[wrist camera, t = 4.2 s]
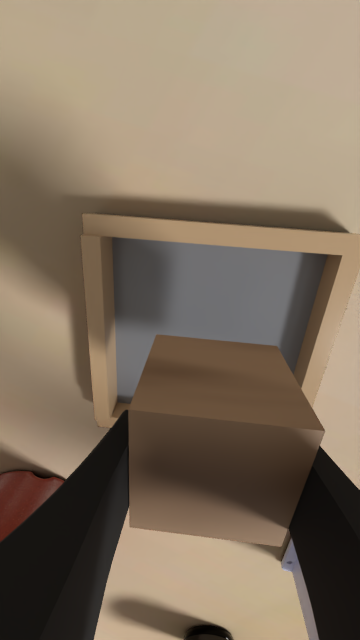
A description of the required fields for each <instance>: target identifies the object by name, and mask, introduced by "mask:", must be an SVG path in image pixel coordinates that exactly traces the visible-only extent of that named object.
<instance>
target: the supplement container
mask: <svg viewBox="0 0 360 640" xmlns="http://www.w3.org/2000/svg"><path fill="white" fill-rule="evenodd" d="M184 640H234V639H233V637H232V636H231V634H230V633H228V632H227V631H225V630H224V629H221V628H218V627H215V626H206V625H203V626H196V627H193V628H191V629H189V630H188V631H187V633H186V634H185V636H184Z"/></svg>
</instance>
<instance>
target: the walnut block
mask: <svg viewBox="0 0 360 640" xmlns="http://www.w3.org/2000/svg"><path fill="white" fill-rule="evenodd" d="M128 421H129V515H130V527H132V528H140V529H147V530H155V531H163V532H171V533H178V534H186V535H194V536H201V537H209V538H217V539H225V540H232V541H240V542H248V543H255V544H263V545H271V546H278V547H281V546H282V543H283V541H284V538H285V535H286V533H287V530H288V528H289V525H290V522H291V520H292V517H293V514H294V512H295V509H296V507H297V504H298V501H299V499H300V496H301V493H302V491H303V488H304V486H305V483H306V480H307V478H308V475H309V472H310V470H311V467H312V464H313V462H314V459H315V457H316V454H317V451H318V449H319V446H320V443H321V441H322V438H323V436H324V433H325V430H324V428H323V426H322V425H321V423H320V421H319V419H318V418H317V416H316V414H315V412H314V411H313V409H312V407H311V405H310V403H309V402H308V400H307V398H306V396H305V395H304V393H303V391H302V389H301V388H300V386H299V384H298V382H297V380H296V379H295V377H294V375H293V373H292V372H291V370H290V368H289V366H288V365H287V363H286V361H285V359H284V357H283V356H282V354H281V352H280V350H279V349H278V347H277V346H273V345H262V344H252V343H242V342H231V341H221V340H210V339H200V338H190V337H179V336H169V335H159V334H156V336H155V339H154V342H153V344H152V347H151V350H150V353H149V355H148V358H147V361H146V363H145V366H144V369H143V371H142V374H141V377H140V380H139V382H138V385H137V388H136V390H135V393H134V396H133V398H132V401H131V404H130V407H129V409H128Z"/></svg>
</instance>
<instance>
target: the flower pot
mask: <svg viewBox="0 0 360 640" xmlns="http://www.w3.org/2000/svg"><path fill="white" fill-rule="evenodd" d="M63 483H64V481H63V480H61V479H59V478H56V477H51V478H48V479H41V478H38V477H36V476H35V475H34V474H33V472H30V471H13V472H7V473H3V474H0V542H1V541H2V540H3V539H4V538H5V537H6V536H7V535H9V534H10V533H11V532H12V531H13V530H14V529H15V528H17V527H18V526H19V525H20V524H21V523H22V522H23V521H24V520H26V519H27V518H28V517H29V516H30V515H31V514H32V513H33V512H34V511H35V510H36V509H37V508H38V507H39V506H40V505H42V504H43V503H44V502H45V501H46V500H47V499H48V498H49V497H50V496H51V495H52V494H53V493H54V492H55V491H56V490H57V489H58V488H59V487H60V486H61V485H62V484H63Z"/></svg>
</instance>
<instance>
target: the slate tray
mask: <svg viewBox="0 0 360 640" xmlns="http://www.w3.org/2000/svg"><path fill="white" fill-rule="evenodd" d="M82 220H83V234H84V235H80V239H81V252H82V265H83V277H84V290H85V303H86V315H87V328H88V341H89V353H90V366H91V379H92V391H93V404H94V417H95V420H97V423H98V427H107V428H111V427H112V426H113V425H114V423H115V422H116V421H117V419H118V418H119V417H120V415H121V414H122V412H123V411H125V410H128V409H129V407H130V404H131V401H132V398H133V396H134V393H135V390H136V388H137V385H138V382H139V380H140V377H141V374H142V371H143V369H144V366H145V363H146V361H147V358H148V355H149V353H150V350H151V347H152V344H153V342H154V339H155V336H156V334H159V335H169V336H179V337H190V338H200V339H210V340H221V341H231V342H242V343H252V344H262V345H273V346H277V347H278V349H279V350H280V352H281V354H282V356H283V357H284V359H285V361H286V363H287V365H288V366H289V368H290V370H291V372H292V373H293V375H294V377H295V379H296V380H297V382H298V384H299V386H300V388H301V389H302V391H303V393H304V395H305V396H306V398H307V400H308V402H309V403H310V405H311V407H313V404H314V401H315V398H316V395H317V392H318V389H319V386H320V383H321V380H322V377H323V374H324V371H325V368H326V366H327V363H328V360H329V357H330V354H331V351H332V348H333V345H334V342H335V339H336V336H337V333H338V330H339V327H340V325H341V322H342V319H343V316H344V313H345V310H346V307H347V304H348V301H349V298H350V295H351V292H352V289H353V286H354V284H355V281H356V278H357V275H358V272H359V269H360V234H356V233H347V232H334V231H321V230H307V229H294V228H281V227H268V226H255V225H242V224H229V223H216V222H203V221H189V220H176V219H163V218H150V217H137V216H124V215H111V214H98V213H88V214H82Z"/></svg>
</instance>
